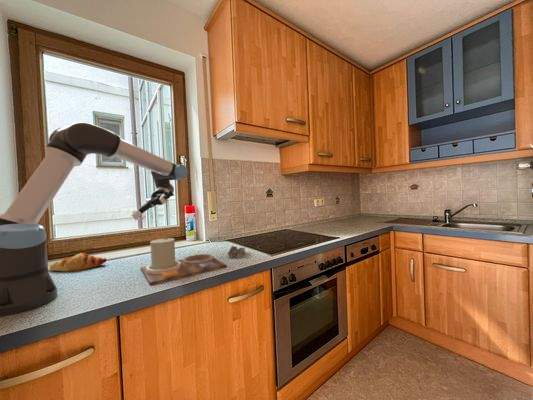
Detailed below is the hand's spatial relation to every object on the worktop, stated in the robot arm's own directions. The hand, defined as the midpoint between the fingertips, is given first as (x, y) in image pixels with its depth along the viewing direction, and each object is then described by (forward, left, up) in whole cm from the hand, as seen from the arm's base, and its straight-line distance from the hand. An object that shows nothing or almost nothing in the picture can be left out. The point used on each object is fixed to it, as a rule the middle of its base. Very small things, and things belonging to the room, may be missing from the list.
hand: (147, 209), depth 99 cm
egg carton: (+29, -24, -25) cm, 46 cm away
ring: (-2, -13, -24) cm, 27 cm away
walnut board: (+4, -15, -25) cm, 29 cm away
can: (-1, -10, -24) cm, 26 cm away
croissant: (-14, +30, -25) cm, 41 cm away
